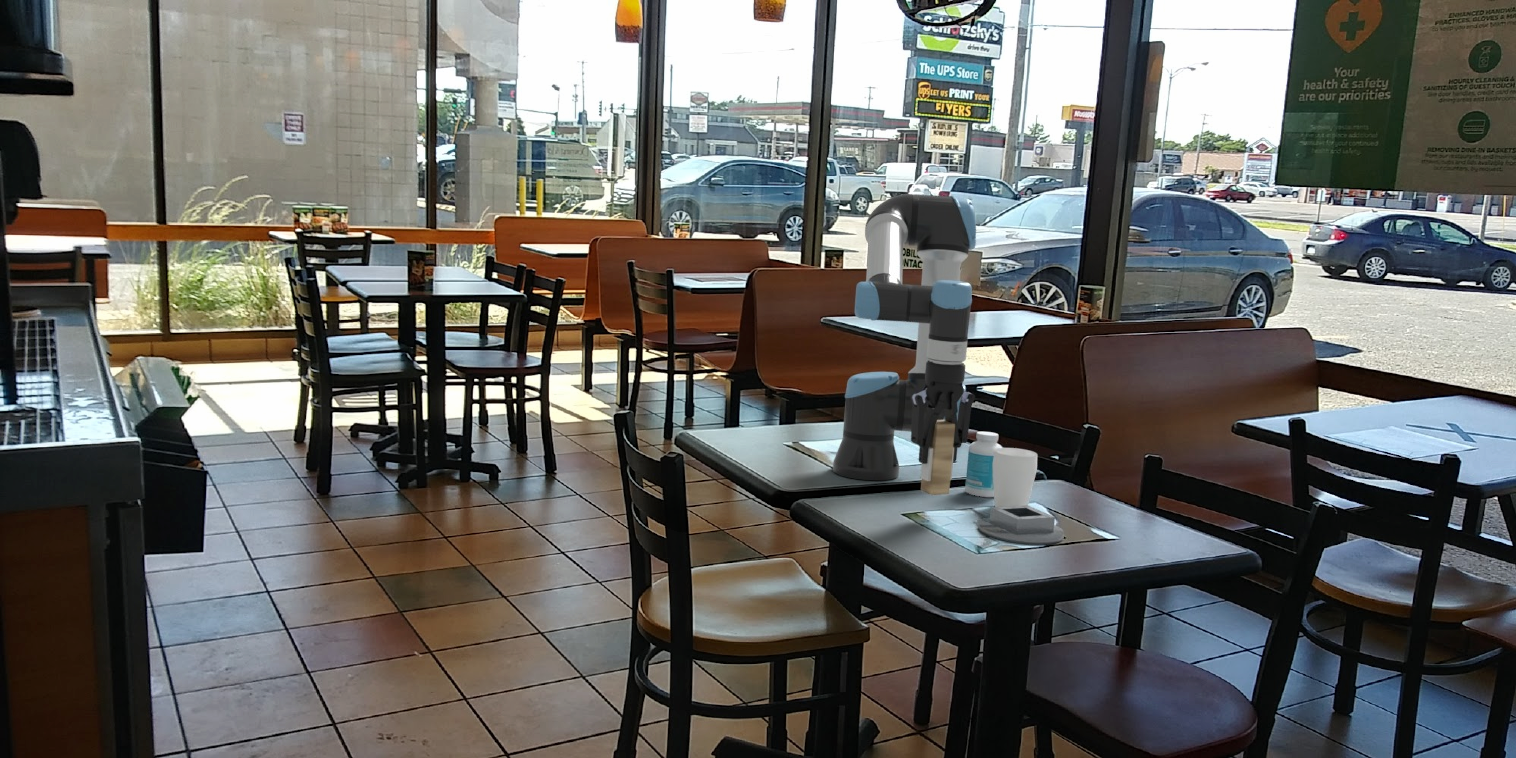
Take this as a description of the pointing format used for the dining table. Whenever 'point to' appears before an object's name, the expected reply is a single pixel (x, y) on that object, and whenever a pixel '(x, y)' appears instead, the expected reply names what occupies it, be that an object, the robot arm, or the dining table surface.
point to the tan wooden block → (940, 459)
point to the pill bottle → (981, 465)
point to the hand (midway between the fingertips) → (935, 478)
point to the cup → (1013, 476)
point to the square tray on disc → (1021, 526)
